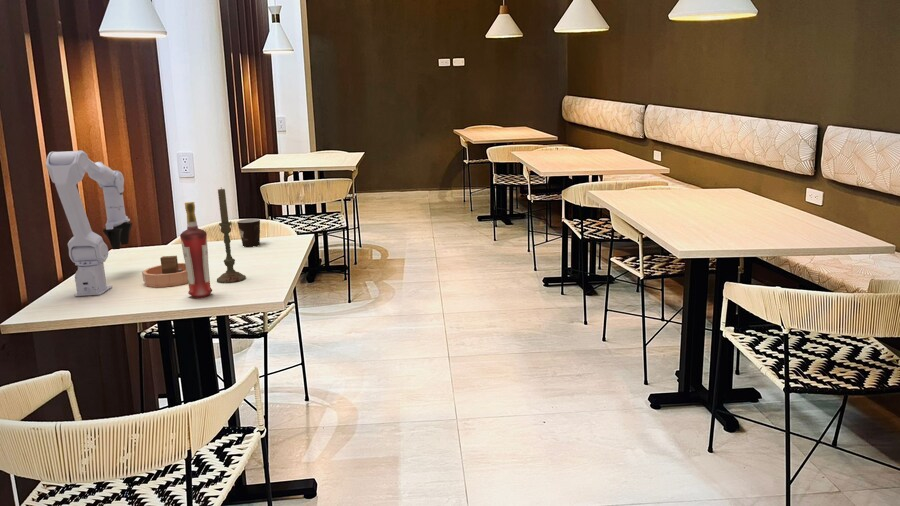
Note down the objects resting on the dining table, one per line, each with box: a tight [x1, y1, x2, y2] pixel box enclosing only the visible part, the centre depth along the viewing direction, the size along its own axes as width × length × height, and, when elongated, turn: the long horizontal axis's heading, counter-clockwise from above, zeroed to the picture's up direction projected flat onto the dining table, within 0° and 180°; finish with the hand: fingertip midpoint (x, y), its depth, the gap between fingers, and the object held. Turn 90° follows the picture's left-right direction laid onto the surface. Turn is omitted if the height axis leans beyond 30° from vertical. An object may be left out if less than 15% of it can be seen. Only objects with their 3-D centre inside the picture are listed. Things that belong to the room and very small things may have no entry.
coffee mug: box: [237, 218, 261, 248], centre depth 285 cm, size 12×9×10 cm
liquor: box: [179, 201, 213, 299], centre depth 213 cm, size 7×7×28 cm
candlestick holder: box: [216, 187, 247, 284], centre depth 231 cm, size 9×9×30 cm
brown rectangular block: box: [159, 255, 179, 274], centre depth 235 cm, size 2×4×7 cm, turn 94°
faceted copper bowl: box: [141, 262, 188, 288], centre depth 236 cm, size 16×16×4 cm
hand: (120, 246), depth 245 cm, fingers open, 7 cm apart
